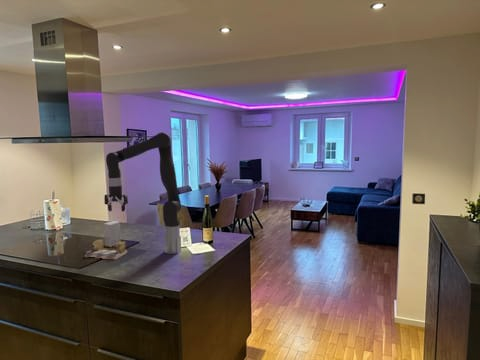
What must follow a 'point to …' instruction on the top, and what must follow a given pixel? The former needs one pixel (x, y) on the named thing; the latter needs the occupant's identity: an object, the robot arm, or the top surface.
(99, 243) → the slider leg
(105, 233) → the skincare box
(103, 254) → the gauge board
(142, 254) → the top surface
